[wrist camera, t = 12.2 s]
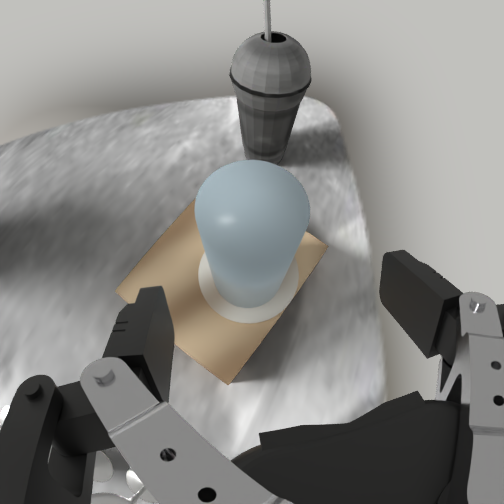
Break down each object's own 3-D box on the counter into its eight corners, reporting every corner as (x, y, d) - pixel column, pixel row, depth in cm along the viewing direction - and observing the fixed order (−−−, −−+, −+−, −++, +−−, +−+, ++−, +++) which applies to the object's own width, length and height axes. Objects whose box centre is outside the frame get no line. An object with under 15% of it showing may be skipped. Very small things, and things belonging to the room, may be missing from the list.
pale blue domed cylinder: (199, 278, 24) (170, 213, 14) (243, 230, 26) (244, 143, 16) (252, 322, 23) (262, 286, 13) (295, 269, 25) (331, 201, 15)
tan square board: (131, 302, 28) (113, 290, 24) (220, 198, 32) (217, 173, 28) (230, 383, 26) (227, 385, 22) (317, 262, 30) (329, 244, 26)
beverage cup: (263, 188, 33) (280, 15, 14) (219, 150, 35) (206, -11, 16) (307, 154, 35) (346, -1, 16) (264, 121, 37) (275, -26, 18)
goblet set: (238, 475, 23) (234, 547, 10) (230, 522, 20) (223, 604, 8) (-2, 393, 23) (-86, 384, 11) (-3, 435, 21) (-83, 440, 9)
